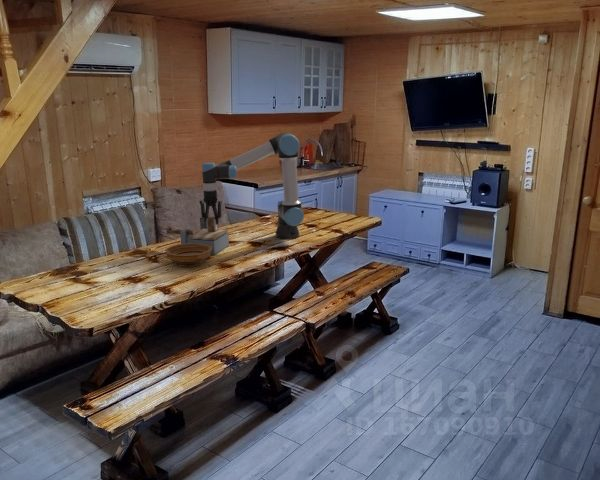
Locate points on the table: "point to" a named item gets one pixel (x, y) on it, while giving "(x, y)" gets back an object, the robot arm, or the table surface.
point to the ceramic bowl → (188, 253)
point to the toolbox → (207, 242)
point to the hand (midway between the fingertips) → (212, 229)
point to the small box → (203, 223)
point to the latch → (178, 231)
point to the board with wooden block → (209, 231)
